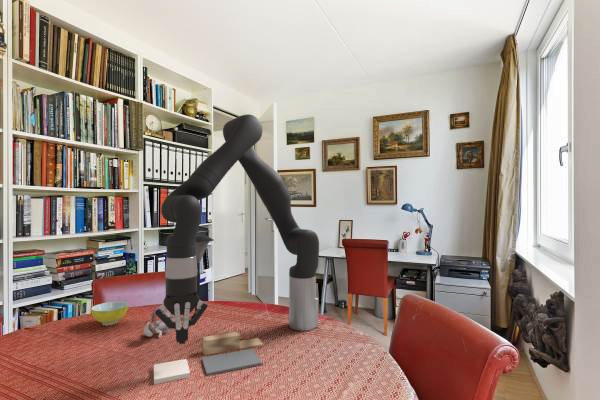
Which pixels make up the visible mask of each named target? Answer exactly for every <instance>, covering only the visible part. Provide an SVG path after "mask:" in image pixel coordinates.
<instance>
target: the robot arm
mask: <svg viewBox="0 0 600 400" xmlns="http://www.w3.org/2000/svg"><path fill="white" fill-rule="evenodd" d="M222 135H223V139H224V142H223V143H222V144H221V146H219V147H218V148H217V149H216V150H215V151H214V152H212V153H211V154H210V155H208V157H206V158H205V159H204V160H203V161H202V162H201V163H200V164H199V165H198V166H197V167H196V169H195V170H193V171H194V172H192V173H191V175H190V176H189V177H188V178H187V179H186V180H185V181H184V182H182V183H181V184H180V185H179V186H178V187H176V188H175V189H174V190H172V191H171V192H170V193H169V194H168V195H167V196H166V198H165V199H164V200H163V201H162V205H161V208H160V212H161V216H162V217H163V219H164V220H165V221H167V222H170V223H173V224H174V223H175V227H174V232H172V233H170V234H169V235H167V237H166V260H165V273H164V274H165V296H164V297H165V298H164V299H163V301H162V302H163V303H162V304H161V305H160V306H156V307H157V308H156V307H155V308H156V309H155V308H154V310H155V314H156V315H157V316H156V317H157V318H159V320H160V321H161V320H162V321H163V322H164V324H165V325H166V326H167V327H168V328H169V329H171V330H172V329H174V330H175V341H176V343H178V345H185V344H186V342H188V341H189V327H191V326H195V325H196V323H197V322H198V321H199V320H200V318H201V317H202V315H203V314H204V313H205V312H206V309H208V304H207V302H206V301H203V300H201V299H200V300H199V296H198V294H197V272H198V270H197V261H196V237H197V235H198V233H199V228H200V225H201V220H202V206H201V203H200V200H204V199H206V198H208V197H209V196H210V195H211V194H212V193H213V192H214V190H215V189H216V188H217V187H218V185H219V184H220V183H221V181H222V180H223V179H224V177H225V176H226V175H227V174H228V172H229V171H230V170H231V168H233V166H234V165H235V164H236V163H237V162H239V164H240V165H241V167H242V168H243V170H244V171H245V173H246V175H247V177H248V178H249V180H250V182H251V183H252V185H253V187H254V188H255V190H256V192H257V194H258V197H259V198H260V200H261V201H262V204H263V205H264V207H265V208H266V210H267V211H268V214H269V216H270V217H271V219H272V220H273V223H274V224H275V226H276V228H277V231H278V233H279V235H280V237H281V240H282V242H283V245H284V247H285V248H286V251H288V253H291V255H295V256H296V263H295V264H294V265H291V266H290V267H289V270H288V277H289V278H288V283H289V284H288V285H289V286H288V291H289V292H288V310H289V311H288V314H289V315H288V327H289V328H291V329H292V330H295V331H311V330H313V329H315V328H317V327H319V298H318V297H317V270H318V267H319V259H320V258H319V256H320V255H319V254H320V240H319V237H318V233H316V232H315V231H314V230H312V229H305V228H303V229H302V228H301V227H300V226H299V225H298V223H297V222H296V220H295V218H294V216H293V213H292V203H291V202H292V201H291V193H290V191H289V189H288V187H287V186H286V184H285V182H284V180H283V178H282V176H281V175H280V173H278V172H277V171H276V170H275V169H274V168H273V167H272V166H270V165H269V164H268V163H266V161H264V160H263V159H262V158H261V157H260V156H259V154H258V153H257V152H256V149H255V148H254V146H255V145H256V144H257V143H258V142H260V140H261V138H262V136H263V125H262V123H261V121H260V120H259V119H258V117H257V116H254V115H253V114H247V113H246V114H243V115H240V116H238V117H235V118H233V119H231V120H229V121H227V122H226V123H225V124H224V125H223V128H222ZM197 304H198V305H197ZM196 305H197V310H196V312H195V311H194V312H193V310H195V306H196ZM166 310H168V311H169V313H171V314H172V315H174V316H173V317H174V319H175V322H173V321H172V320H171V319H170V318H169V317H168V316H167V315H166V314H165V313H166ZM192 312H193V315H191V317H190V314H191V313H192ZM181 316H182V318H181ZM181 319H182V321H181ZM181 322H182V323H181Z"/></svg>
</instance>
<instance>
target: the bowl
mask: <svg viewBox="0 0 600 400" xmlns="http://www.w3.org/2000/svg"><path fill="white" fill-rule="evenodd" d="M128 308H129V303H128V302H127V301H109V302H103V303H100V304H96V305H93V306H92V307H91V308H90V310H91V315H92V318H94V319H95V320H96V321H97V322H99V323H101V325H102V326H104V325H105V326H106V327H108V325H110V326H114V325H116V324H117V323H118V321H119V320H121V319H122V318H123V317H124V316H125V315H126V313H127V311H128V310H129V309H128ZM115 323H116V324H115ZM113 324H114V325H113Z"/></svg>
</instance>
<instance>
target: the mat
mask: <svg viewBox="0 0 600 400" xmlns="http://www.w3.org/2000/svg"><path fill="white" fill-rule="evenodd" d="M201 362H202V364H203V368H204V370H205V371H204V372H205V373H206V376H208V377H209V376H212V375H217V374H218V375H219V374H224V373H227V372H233V371H237V370H241V369H242V370H243V369H247V368H253V367H258V366H262V365H263V362H262V361H261V359H260V358H259V356H258V355H257V353H256V352H255V349H253V348H249V349H244V350H238V351H233V352H227V353H221V354H217V355H215V354H214V355H208V356H204V357H201Z"/></svg>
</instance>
